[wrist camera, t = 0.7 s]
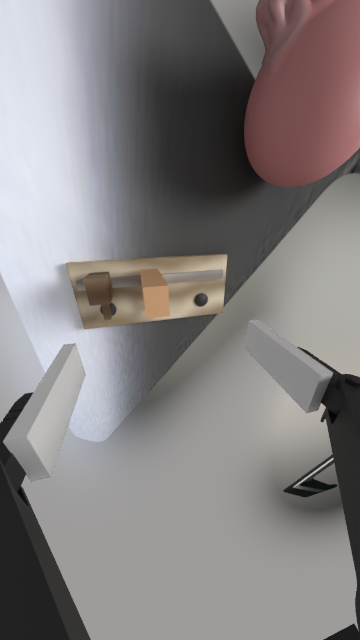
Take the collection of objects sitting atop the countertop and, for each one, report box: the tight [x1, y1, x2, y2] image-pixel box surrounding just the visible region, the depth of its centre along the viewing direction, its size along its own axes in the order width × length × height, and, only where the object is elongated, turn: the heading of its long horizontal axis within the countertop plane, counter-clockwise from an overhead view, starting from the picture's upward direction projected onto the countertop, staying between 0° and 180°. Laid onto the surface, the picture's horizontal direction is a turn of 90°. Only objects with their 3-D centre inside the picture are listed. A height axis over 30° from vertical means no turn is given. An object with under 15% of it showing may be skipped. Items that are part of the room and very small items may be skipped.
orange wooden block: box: [140, 269, 170, 319], centre depth 29 cm, size 8×3×12 cm, turn 2°
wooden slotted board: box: [66, 254, 227, 329], centre depth 33 cm, size 12×28×7 cm, turn 92°
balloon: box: [244, 0, 360, 187], centre depth 22 cm, size 15×20×15 cm
